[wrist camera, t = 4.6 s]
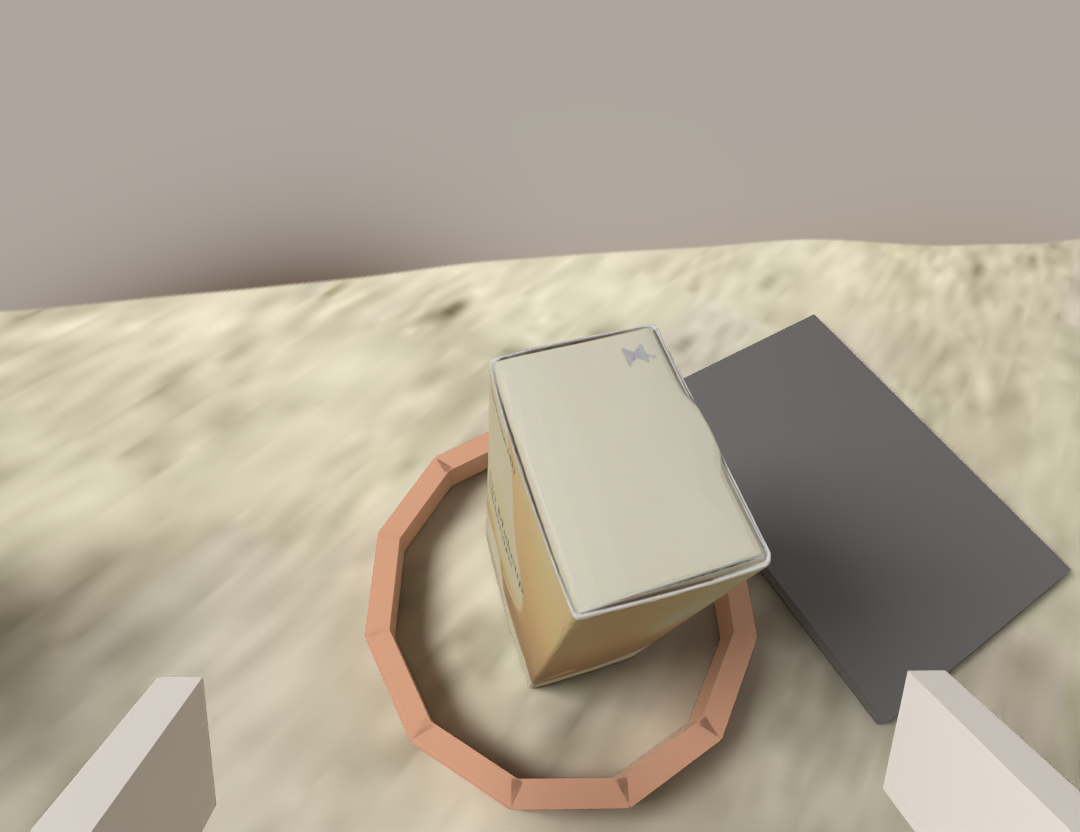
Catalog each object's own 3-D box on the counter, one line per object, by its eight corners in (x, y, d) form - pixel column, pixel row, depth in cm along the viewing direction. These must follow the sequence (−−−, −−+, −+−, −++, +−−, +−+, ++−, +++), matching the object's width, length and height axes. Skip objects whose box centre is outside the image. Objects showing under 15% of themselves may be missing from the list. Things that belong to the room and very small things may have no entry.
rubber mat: (808, 321, 31) (814, 314, 31) (1058, 573, 25) (1070, 569, 24) (635, 407, 28) (638, 400, 27) (877, 724, 22) (886, 723, 21)
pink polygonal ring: (607, 392, 28) (613, 373, 27) (811, 664, 22) (830, 657, 21) (321, 528, 24) (312, 514, 22) (485, 907, 18) (485, 917, 17)
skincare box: (482, 532, 24) (477, 344, 14) (584, 504, 25) (653, 308, 15) (529, 702, 21) (570, 627, 11) (643, 663, 22) (783, 559, 12)
